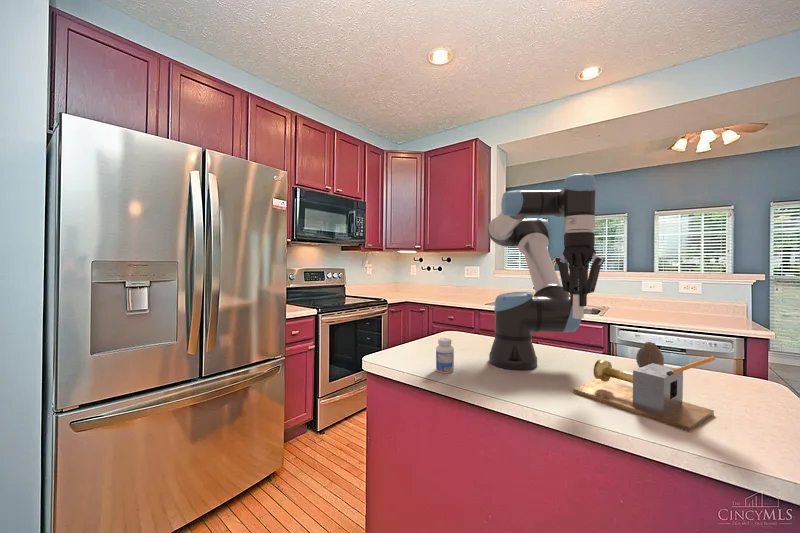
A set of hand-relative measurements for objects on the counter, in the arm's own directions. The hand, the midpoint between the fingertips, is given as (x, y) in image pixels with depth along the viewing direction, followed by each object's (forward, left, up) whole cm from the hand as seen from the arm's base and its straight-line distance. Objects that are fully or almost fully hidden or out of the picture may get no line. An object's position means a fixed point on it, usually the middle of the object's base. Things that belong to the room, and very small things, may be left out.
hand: (578, 317), depth 94 cm
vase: (+6, +29, -19) cm, 35 cm away
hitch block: (+15, 0, -18) cm, 24 cm away
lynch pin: (+12, 0, -15) cm, 19 cm away
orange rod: (+26, 0, -6) cm, 27 cm away
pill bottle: (-28, -24, -19) cm, 41 cm away
